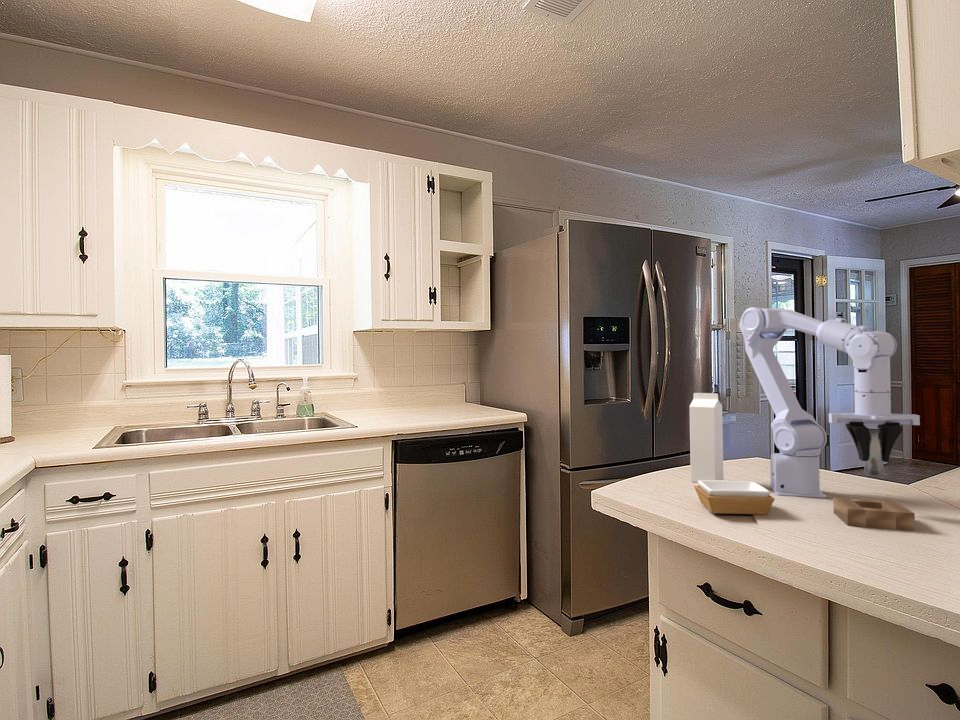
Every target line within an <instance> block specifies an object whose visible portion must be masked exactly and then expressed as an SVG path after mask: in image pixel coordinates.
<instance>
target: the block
mask: <svg viewBox="0 0 960 720" xmlns="http://www.w3.org/2000/svg"><path fill="white" fill-rule="evenodd" d="M833 514H834V515H836V517H838V518H839V519H840V521H842V522H843V523H844V524H845V525H847V526H849V527H861V528H862V527H863V528H878V529H879V528H880V529H888V530H889V529H891V530H905V531H916V519H915V516H916V515H915V512H913V511H911V510H910V509H908V508H907V507H905V506H903V505H902V504H900V503H899V502H897V501H893V500H876V499H861V498H859V499H858V498H844V497H843V498H842V497H833Z"/></svg>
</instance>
